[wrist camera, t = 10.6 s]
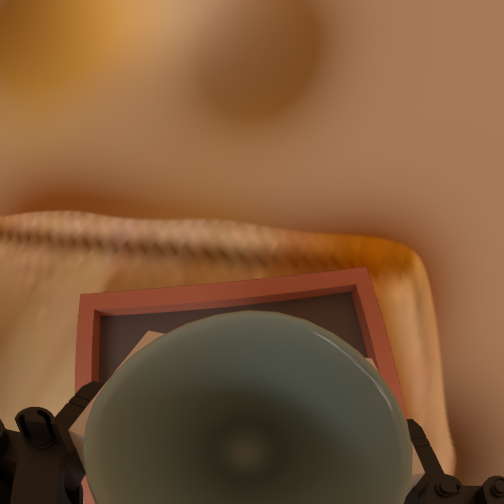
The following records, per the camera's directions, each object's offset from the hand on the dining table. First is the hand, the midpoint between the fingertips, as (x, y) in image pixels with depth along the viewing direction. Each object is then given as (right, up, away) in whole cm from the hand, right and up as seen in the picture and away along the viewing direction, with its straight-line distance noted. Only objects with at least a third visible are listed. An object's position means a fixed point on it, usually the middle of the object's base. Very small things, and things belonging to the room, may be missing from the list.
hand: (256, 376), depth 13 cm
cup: (-1, -5, +1) cm, 5 cm away
